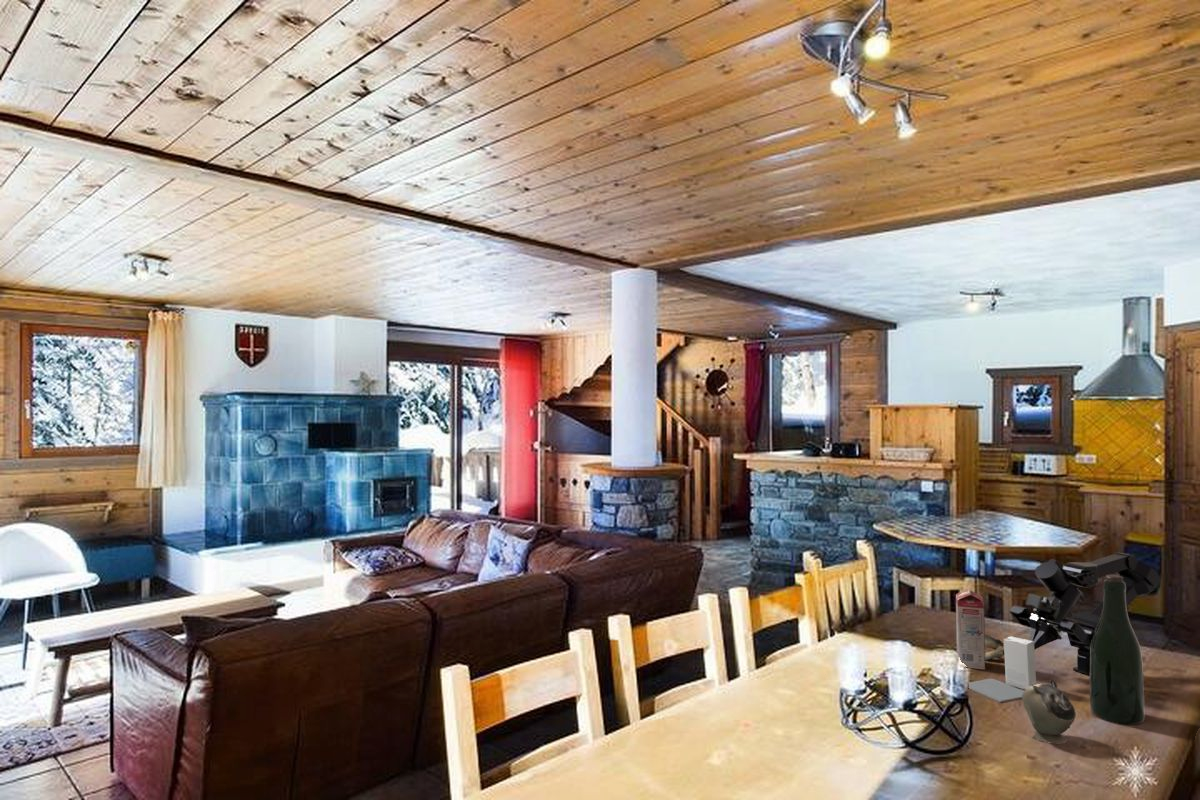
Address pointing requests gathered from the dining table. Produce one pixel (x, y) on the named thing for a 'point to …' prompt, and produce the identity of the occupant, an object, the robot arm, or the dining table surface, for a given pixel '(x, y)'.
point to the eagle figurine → (993, 647)
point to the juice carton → (970, 629)
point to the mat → (996, 690)
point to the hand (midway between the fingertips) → (1030, 648)
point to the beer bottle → (1116, 661)
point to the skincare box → (1019, 662)
